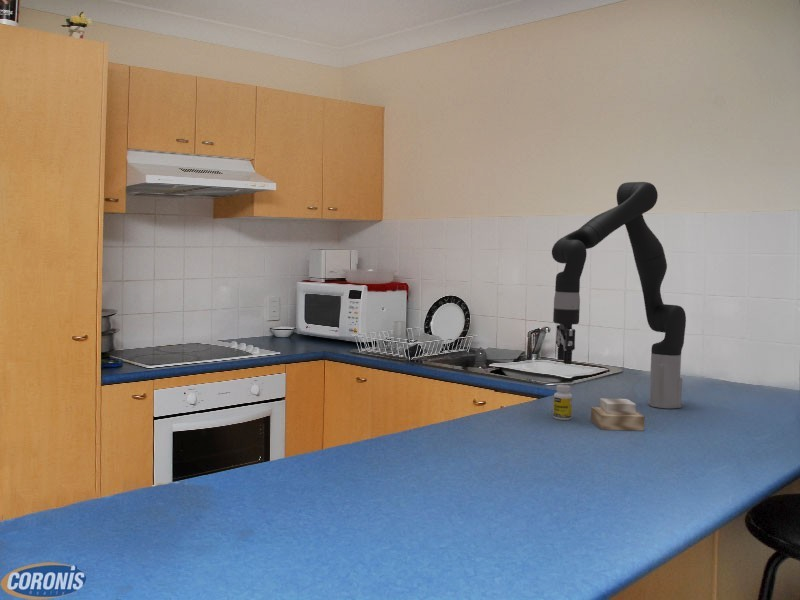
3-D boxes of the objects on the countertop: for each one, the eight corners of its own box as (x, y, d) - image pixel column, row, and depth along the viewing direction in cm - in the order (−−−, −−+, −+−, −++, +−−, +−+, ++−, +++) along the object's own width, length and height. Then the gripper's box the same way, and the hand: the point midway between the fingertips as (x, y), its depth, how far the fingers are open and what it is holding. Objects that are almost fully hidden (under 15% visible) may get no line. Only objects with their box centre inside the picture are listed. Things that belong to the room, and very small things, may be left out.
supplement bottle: (550, 418, 231) (551, 386, 231) (555, 415, 236) (557, 383, 235) (568, 421, 229) (569, 388, 228) (573, 417, 234) (574, 385, 233)
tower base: (631, 421, 231) (632, 397, 230) (644, 430, 219) (645, 405, 218) (590, 420, 231) (591, 396, 230) (601, 429, 219) (602, 405, 218)
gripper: (585, 309, 223) (582, 365, 224) (573, 306, 237) (571, 359, 238) (559, 308, 223) (556, 365, 224) (549, 305, 237) (546, 358, 238)
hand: (564, 361), depth 231 cm, fingers open, 8 cm apart
